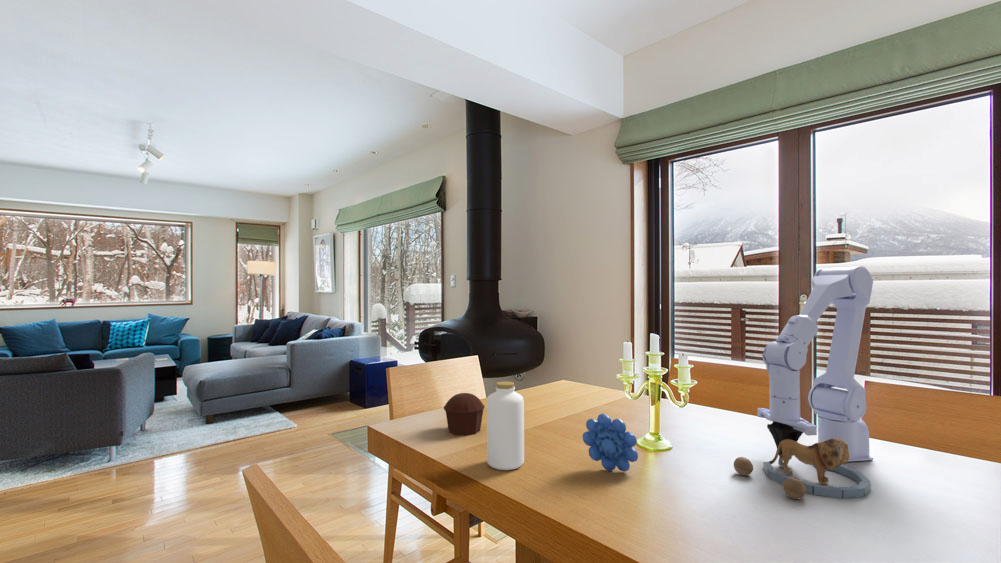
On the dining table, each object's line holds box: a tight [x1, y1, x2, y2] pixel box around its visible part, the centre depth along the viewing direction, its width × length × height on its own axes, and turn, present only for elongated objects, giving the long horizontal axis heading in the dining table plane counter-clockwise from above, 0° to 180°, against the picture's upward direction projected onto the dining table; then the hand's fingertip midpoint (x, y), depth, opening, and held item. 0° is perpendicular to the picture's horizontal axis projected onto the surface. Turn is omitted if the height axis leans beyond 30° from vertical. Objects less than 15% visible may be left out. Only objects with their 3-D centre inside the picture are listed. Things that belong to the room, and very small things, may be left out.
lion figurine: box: [768, 438, 850, 486], centre depth 93 cm, size 15×5×9 cm, turn 42°
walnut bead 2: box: [782, 477, 807, 500], centre depth 83 cm, size 4×4×4 cm
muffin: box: [443, 392, 486, 437], centre depth 124 cm, size 12×11×10 cm
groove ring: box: [762, 461, 872, 499], centre depth 91 cm, size 17×15×2 cm
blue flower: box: [582, 413, 639, 472], centre depth 95 cm, size 12×7×12 cm, turn 70°
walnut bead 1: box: [733, 456, 754, 476], centre depth 94 cm, size 4×4×4 cm
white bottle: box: [486, 381, 525, 471], centre depth 100 cm, size 8×8×18 cm
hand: (785, 458), depth 99 cm, fingers closed
